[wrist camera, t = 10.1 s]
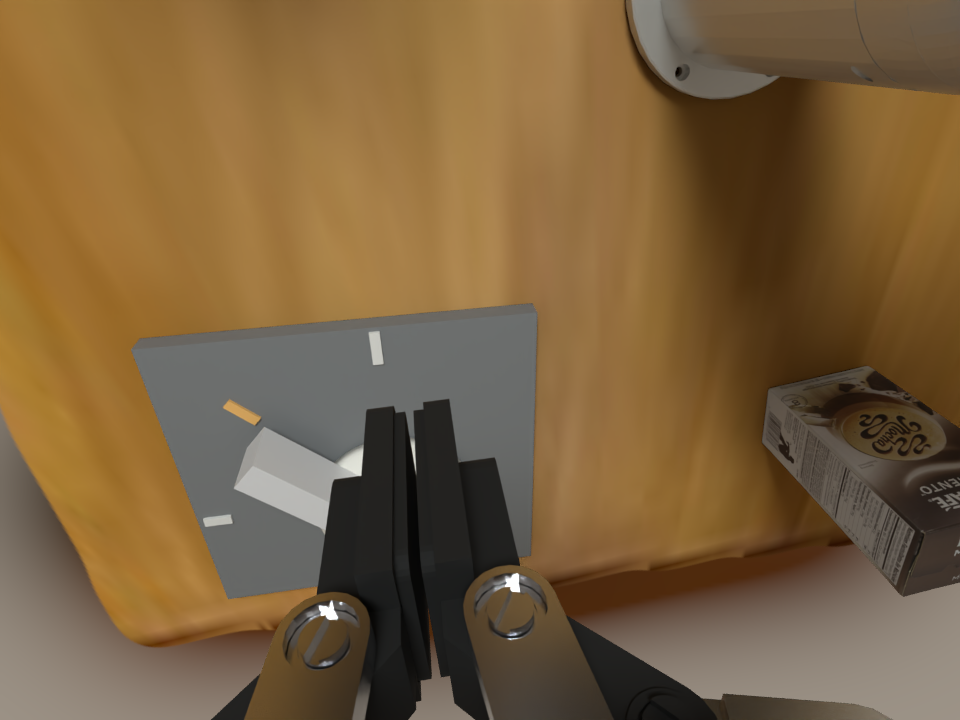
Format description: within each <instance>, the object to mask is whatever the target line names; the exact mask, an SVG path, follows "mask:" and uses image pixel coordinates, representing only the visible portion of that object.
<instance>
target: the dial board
mask: <svg viewBox="0 0 960 720" xmlns="http://www.w3.org/2000/svg"><path fill="white" fill-rule="evenodd" d="M536 341H537V311H536V309H535V308H534V306H533V304H532V303H531V304H520V305H509V306H498V307H487V308H476V309H465V310H454V311H443V312H431V313H420V314H409V315H398V316H387V317H376V318H365V319H354V320H343V321H331V322H320V323H309V324H298V325H287V326H276V327H265V328H254V329H243V330H231V331H220V332H209V333H198V334H187V335H176V336H165V337H154V338H143V339H139V341H138V342H137V343H136V344H135V346H134V347H133V348H132V349H131V351H132V353H133V356H134V358H135V361H136V364H137V366H138V369H139V371H140V374H141V376H142V379H143V382H144V384H145V387H146V389H147V392H148V394H149V397H150V400H151V402H152V405H153V407H154V410H155V412H156V415H157V417H158V420H159V423H160V425H161V428H162V430H163V433H164V435H165V438H166V441H167V443H168V446H169V448H170V451H171V453H172V456H173V459H174V461H175V464H176V466H177V469H178V471H179V474H180V477H181V479H182V482H183V484H184V487H185V489H186V492H187V495H188V497H189V500H190V502H191V505H192V507H193V510H194V513H195V515H196V518H197V520H198V523H199V525H200V528H201V530H202V533H203V536H204V538H205V541H206V543H207V546H208V548H209V551H210V554H211V556H212V559H213V561H214V564H215V566H216V569H217V572H218V574H219V577H220V579H221V582H222V584H223V587H224V590H225V592H226V595H227V597H228V599H232V598H239V597H246V596H253V595H260V594H267V593H274V592H281V591H288V590H295V589H302V588H308V587H315V586H318V581H319V574H320V567H321V560H322V552H323V545H324V538H325V534H324V533H323V531H322V529H321V528H320V527H318V526H315V525H313V524H311V523H309V522H306V521H304V520H302V519H300V518H298V517H295V516H293V515H291V514H289V513H287V512H284V511H282V510H280V509H278V508H276V507H273V506H271V505H269V504H267V503H265V502H262V501H260V500H258V499H256V498H254V497H251V496H249V495H247V494H245V493H243V492H240V491H238V490H236V489H234V486H235V483H236V480H237V477H238V474H239V471H240V467H241V464H242V461H243V458H244V455H245V452H246V449H247V447H248V446H249V445H250V444H251V442H252V441H253V440H254V439H255V437H256V436H257V435H258V434H259V433H260V431H261V430H262V429H263V428H264V427H266V428H268V429H270V430H272V431H273V432H275V433H277V434H279V435H281V436H283V437H285V438H287V439H289V440H291V441H293V442H295V443H297V444H299V445H300V446H302V447H304V448H306V449H308V450H310V451H312V452H314V453H316V454H318V455H320V456H322V457H324V458H326V459H328V460H329V461H331V462H333V463H334V462H335V461H336V460H338V459H339V458H340V457H341V456H343V455H344V454H345V453H347V452H348V451H350V450H352V449H354V448H355V447H358V446H360V445H362V444H364V433H365V420H366V410H367V409H373V408H381V407H389V406H394V407H395V411H396V413H398V412H405V413H406V417H407V423H408V429H409V435H410V438H415V436H414V414H413V411H414V410H421V409H423V402H428V401H435V400H443V399H449V400H450V407H451V414H452V421H453V428H454V435H455V442H456V449H457V456H458V459H459V460H460V461H461V462H464V461H472V460H479V459H486V458H493V457H495V459H496V463H497V467H498V471H499V476H500V480H501V484H502V489H503V493H504V497H505V502H506V506H507V510H508V515H509V519H510V524H511V528H512V532H513V537H514V541H515V545H516V550H517V554H518V557H524V556H531V530H532V492H533V454H534V416H535V379H536Z"/></svg>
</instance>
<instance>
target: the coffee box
mask: <svg viewBox="0 0 960 720" xmlns="http://www.w3.org/2000/svg"><path fill="white" fill-rule="evenodd" d="M762 443H763V444H764V445H765V446H766V447H767V448H768V449H769V450H770V451H771V452H772V453H773V455H774V456H775V457H776V458H777V459H778V460H779V461H780V462H781V463H782V464H783V466H784V467H785V468H786V469H787V470H788V471H789V472H790V473H791V474H792V475H793V476H794V478H795V479H796V480H797V481H798V482H799V483H800V484H801V485H802V486H803V487H804V488H805V489H806V491H807V492H808V493H809V494H810V495H811V496H812V497H813V498H814V499H815V501H816V502H817V503H818V504H819V505H820V506H821V507H822V508H823V509H824V511H825V512H826V513H827V514H828V515H829V516H830V517H831V518H832V519H833V520H834V522H835V523H836V524H837V525H838V526H839V527H840V528H841V529H842V530H843V531H844V533H845V534H846V535H847V536H848V537H849V538H850V539H851V540H852V541H853V543H854V544H855V545H856V546H857V547H858V548H859V549H860V550H861V551H862V552H863V554H864V555H865V556H866V557H867V558H868V559H869V560H870V561H871V562H872V564H873V565H874V566H875V567H876V568H877V569H878V570H879V571H880V572H881V573H882V575H883V576H884V577H885V578H886V579H887V580H888V581H889V582H890V584H891V585H892V586H893V587H894V588H895V589H896V590H897V592H898V593H899V594H900V595H902V596H903V597H904V596H908V595H911V594H915V593H919V592H923V591H927V590H931V589H934V588H939V587H943V586H947V585H951V584H955V583H959V582H960V428H958V427H957V426H955V425H954V424H953V423H951V422H950V421H948V420H947V419H945V418H944V417H942V416H941V415H939V414H938V413H936V412H935V411H933V410H932V409H930V408H929V407H928V406H926V405H925V404H923V403H922V402H920V401H919V400H918V399H916V398H915V397H913V396H912V395H910V394H909V393H907V392H906V391H904V390H903V389H901V388H900V387H898V386H897V385H896V384H894V383H893V382H891V381H890V380H888V379H887V378H885V377H884V376H882V375H881V374H880V373H878V372H877V371H875V370H874V369H872V368H871V367H869V366H864V367H860V368H856V369H852V370H848V371H843V372H839V373H835V374H830V375H826V376H822V377H817V378H813V379H809V380H805V381H800V382H796V383H791V384H787V385H783V386H778V387H774V388H770V389H769V390H768V397H767V405H766V413H765V421H764V430H763V438H762Z"/></svg>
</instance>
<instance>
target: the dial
mask: <svg viewBox="0 0 960 720" xmlns="http://www.w3.org/2000/svg"><path fill="white" fill-rule="evenodd" d="M410 441H411V447H412V453H413V459H414V465H415V471H416V458H415V438H410ZM363 446H364V444H362V445H360V446H358V447H355V448H354V449H352V450H350V451H348V452H347V453H345V454H344V455H343V456H341V457H340V458H339V459H338V460H336V461H335V462H334V463H333V462H331V461H329V460H328V459H326V458H324V457H322V456H320V455H318V454H316V453H314V452H312V451H310V450H308V449H306V448H304V447H302V446H300V445H299V444H297V443H295V442H293V441H291V440H289V439H287V438H285V437H283V436H281V435H279V434H277V433H275V432H273V431H272V430H270V429H268V428H266V427H264V428H263V429H262V430H261V431H260V433H259V434H258V435H257V436H256V437H255V439H254V440H253V441H252V442H251V444H250V445H249V446H248V447H247V449H246V452H245V455H244V458H243V461H242V464H241V467H240V471H239V474H238V477H237V480H236V483H235V486H234V489H236V490H238V491H240V492H243V493H245V494H247V495H249V496H251V497H254V498H256V499H258V500H260V501H262V502H265V503H267V504H269V505H271V506H273V507H276V508H278V509H280V510H282V511H284V512H287V513H289V514H291V515H293V516H295V517H298V518H300V519H302V520H304V521H306V522H309V523H311V524H313V525H315V526H318V527H320V528H321V529H322V531H323V533H324V534H325V531H326V524H327V516H328V509H329V502H330V495H331V488H332V483H333V481H334V479H341V478H348V477H355V476H361V472H362V459H363ZM458 462H461V461H460V460H459V459H458Z"/></svg>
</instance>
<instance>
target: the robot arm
mask: <svg viewBox="0 0 960 720" xmlns="http://www.w3.org/2000/svg"><path fill="white" fill-rule="evenodd" d="M626 9H627V14H628V19H629V24H630V29H631V33H632V35H633V38H634V40H635V43H636V46H637V48H638V51H639V53H640V54H641V56H642V57H643V59H644V60H645V62H646V63H647V65H648V67H649V68H650V69H651V70H652V71H653V72H654V73H655V74H656V75H657V76H658V77H659V78H660V79H661V80H662V81H663V82H664V83H666V84H667V85H669V86H671V87H672V88H674V89H676V90H677V91H679V92H682V93H685V94H688V95H692V96H695V97H700V98H707V99H731V98H735V97H739V96H742V95H746V94H750V93H752V92H754V91H756V90H759V89H761V88H763V87H765V86H767V85H769V84H771V83H772V82H773V81H775V80H776V79H778V78H779V77H780V76H783V77H792V78H802V79H811V80H821V81H830V82H839V83H849V84H858V85H867V86H877V87H886V88H895V89H905V90H914V91H924V92H932V93H942V94H951V95H960V0H626ZM677 67H678V68H679V73H678V75H677V76H675V71H676V69H677ZM413 414H414V436H415V458H416V471H415V465H414V459H413V453H412V447H411V441H410V435H409V429H408V423H407V417H406V413H405V412H398V413H396V411H395V407H394V406H389V407H381V408H373V409H367V410H366V420H365V433H364V446H363V459H362V472H361V476H355V477H348V478H341V479H334V481H333V483H332V488H331V495H330V502H329V509H328V516H327V524H326V531H325V538H324V545H323V552H322V560H321V567H320V574H319V581H318V589H317V595H316V596H313V597H311V598H309V599H306V600H304V601H303V602H301V603H300V604H299V605H297V606H296V607H294V608H293V609H292V610H291V611H290V612H289V613H288V614H287V615H286V617H285V618H284V619H283V620H282V621H281V623H280V625H279V627H278V629H277V631H276V632H275V634H274V637H273V640H272V642H271V645H270V648H269V651H268V654H267V657H266V659H265V662H264V665H263V668H262V671H261V673H260V674H259V676H257V677H256V678H255V679H254V680H253V681H252V682H251V683H250V684H249V685H248V686H247V687H245V688H244V689H243V690H242V691H241V692H240V693H239V694H238V695H237V696H236V697H235V698H234V699H233V700H232V701H231V702H230V703H228V704H227V705H226V706H225V707H224V708H223V709H222V710H221V711H220V712H219V713H218V714H217V715H216V716H215V717H214V718H212V719H211V720H408V719H409V718H410V717H411V715H412V714H413V713H414V712H415V710H416V702H417V701H421V682H420V681H421V680H427V679H431V676H432V675H431V674H432V672H431V653H430V635H429V617H428V609H429V614H430V619H431V625H432V630H433V636H434V642H435V647H436V653H437V658H438V664H439V669H440V674H441V677H445V676H450V678H451V684H452V691H453V697H454V702H455V704H456V705H458V706H459V707H460V708H461V709H463V710H464V711H465V712H466V713H468V714H469V715H470V716H472V717H473V718H474V719H475V720H892V719H890V718H888V717H887V716H885V715H883V714H882V713H880V712H878V711H876V710H874V709H872V708H868V707H864V706H860V705H856V704H848V703H835V702H823V701H810V700H797V699H785V698H772V697H759V696H747V695H733V694H723V696H722V699H721V700H715V699H703V698H700V697H699V696H698V695H696V694H695V693H694V692H693V691H691V690H690V689H689V688H687V687H685V686H684V685H682V684H680V683H679V682H677V681H675V680H674V679H672V678H670V677H669V676H667V675H665V674H664V673H662V672H660V671H659V670H657V669H655V668H654V667H652V666H650V665H648V664H647V663H645V662H644V661H642V660H640V659H639V658H637V657H635V656H633V655H632V654H630V653H628V652H627V651H625V650H623V649H622V648H620V647H618V646H617V645H615V644H613V643H612V642H610V641H608V640H606V639H605V638H603V637H602V636H600V635H598V634H597V633H595V632H593V631H591V630H590V629H588V628H587V627H585V626H583V625H582V624H580V623H578V622H576V621H575V620H573V619H571V618H570V617H568V616H566V615H565V613H564V611H563V608H562V606H561V604H560V602H559V600H558V598H557V596H556V593H555V591H554V590H553V588H552V587H551V585H550V584H549V582H548V581H547V580H546V579H545V578H544V577H542V576H541V575H540V574H539V573H537V572H536V571H533V570H531V569H528V568H526V567H522V566H520V563H519V558H518V554H517V550H516V545H515V541H514V537H513V532H512V528H511V524H510V519H509V515H508V510H507V506H506V502H505V497H504V493H503V489H502V484H501V480H500V476H499V471H498V467H497V463H496V459H495V457H493V458H486V459H479V460H472V461H464V462H458V456H457V449H456V442H455V435H454V428H453V421H452V414H451V407H450V400H449V399H443V400H435V401H428V402H423V409H421V410H414V411H413Z"/></svg>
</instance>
